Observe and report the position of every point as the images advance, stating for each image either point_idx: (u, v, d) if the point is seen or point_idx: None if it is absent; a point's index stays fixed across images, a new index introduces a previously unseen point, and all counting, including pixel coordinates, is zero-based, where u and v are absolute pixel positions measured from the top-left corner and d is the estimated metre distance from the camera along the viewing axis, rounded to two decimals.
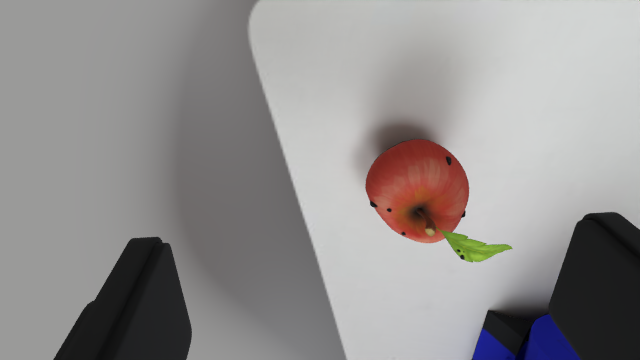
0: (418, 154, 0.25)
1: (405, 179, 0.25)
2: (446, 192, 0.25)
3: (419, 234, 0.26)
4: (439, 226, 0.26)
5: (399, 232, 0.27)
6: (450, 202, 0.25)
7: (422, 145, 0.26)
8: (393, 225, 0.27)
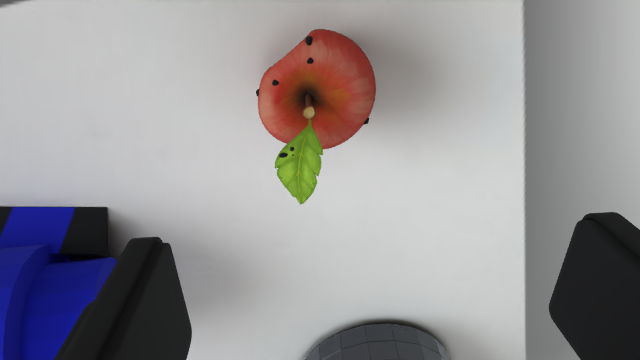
0: (374, 87, 0.23)
1: (355, 76, 0.21)
2: (343, 124, 0.22)
3: (278, 102, 0.22)
4: (294, 123, 0.22)
5: (274, 77, 0.21)
6: (332, 129, 0.22)
7: (375, 91, 0.24)
8: (285, 68, 0.21)
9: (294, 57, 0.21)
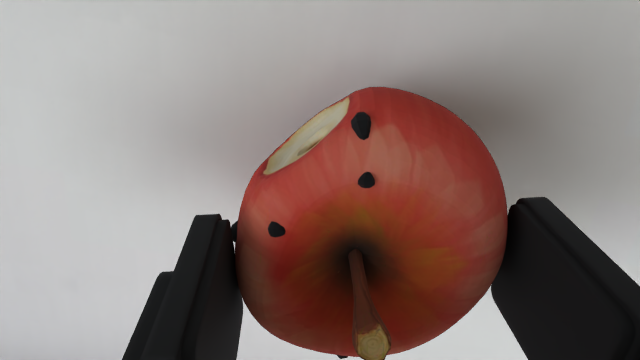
0: None
1: (480, 215, 0.08)
2: (441, 322, 0.09)
3: (284, 277, 0.09)
4: (322, 322, 0.09)
5: (273, 215, 0.09)
6: (414, 338, 0.09)
7: None
8: (303, 196, 0.08)
9: (325, 169, 0.08)
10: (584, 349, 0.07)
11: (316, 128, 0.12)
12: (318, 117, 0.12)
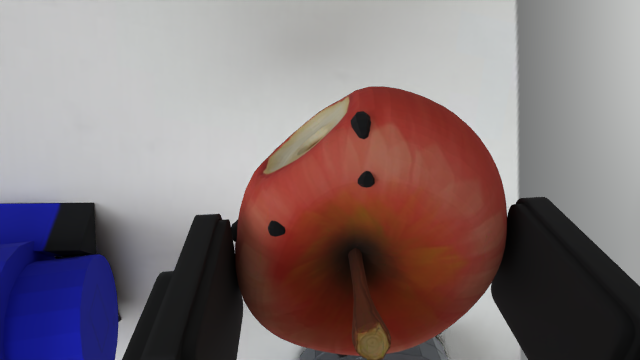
0: None
1: (479, 214, 0.08)
2: (441, 321, 0.09)
3: (284, 276, 0.09)
4: (322, 321, 0.09)
5: (273, 214, 0.09)
6: (414, 337, 0.09)
7: None
8: (303, 195, 0.08)
9: (325, 168, 0.08)
10: (584, 349, 0.07)
11: (316, 128, 0.12)
12: (318, 116, 0.12)
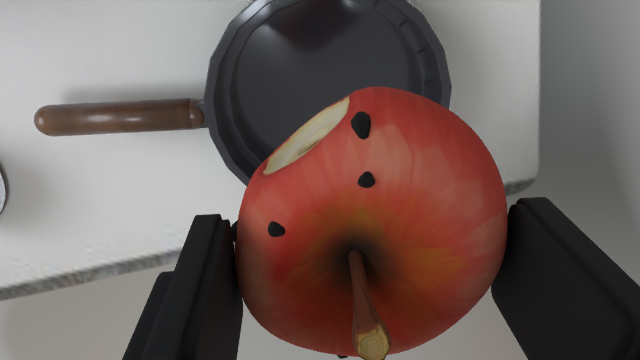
0: None
1: (480, 215, 0.08)
2: (441, 322, 0.09)
3: (284, 277, 0.09)
4: (322, 322, 0.09)
5: (272, 215, 0.09)
6: (414, 338, 0.09)
7: None
8: (303, 196, 0.08)
9: (324, 168, 0.08)
10: (584, 349, 0.07)
11: (316, 128, 0.12)
12: (317, 117, 0.12)
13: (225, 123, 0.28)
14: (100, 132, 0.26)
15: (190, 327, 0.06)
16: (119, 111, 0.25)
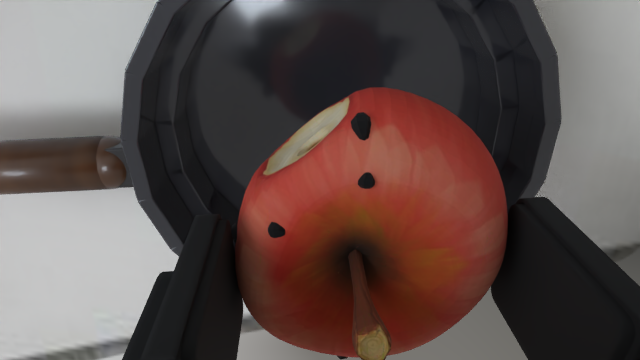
0: None
1: (480, 215, 0.08)
2: (441, 323, 0.09)
3: (284, 278, 0.09)
4: (322, 322, 0.09)
5: (272, 216, 0.09)
6: (414, 338, 0.09)
7: None
8: (303, 197, 0.08)
9: (325, 169, 0.08)
10: (584, 349, 0.07)
11: (316, 128, 0.12)
12: (318, 117, 0.12)
13: (170, 174, 0.17)
14: None
15: (190, 327, 0.06)
16: None
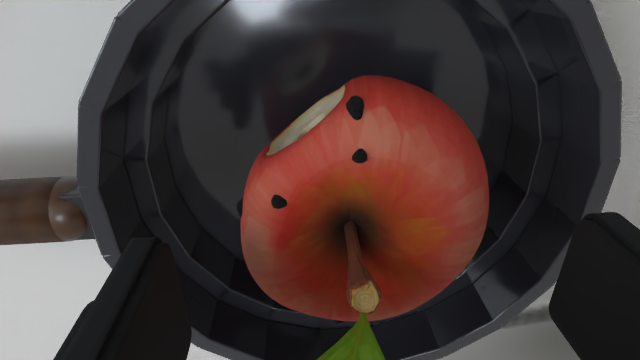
0: (488, 199, 0.11)
1: (462, 188, 0.09)
2: (428, 287, 0.10)
3: (286, 245, 0.10)
4: (320, 287, 0.10)
5: (275, 189, 0.09)
6: (404, 301, 0.10)
7: None
8: (302, 171, 0.09)
9: (322, 146, 0.09)
10: None
11: (315, 115, 0.13)
12: (316, 105, 0.13)
13: (145, 217, 0.14)
14: None
15: None
16: None
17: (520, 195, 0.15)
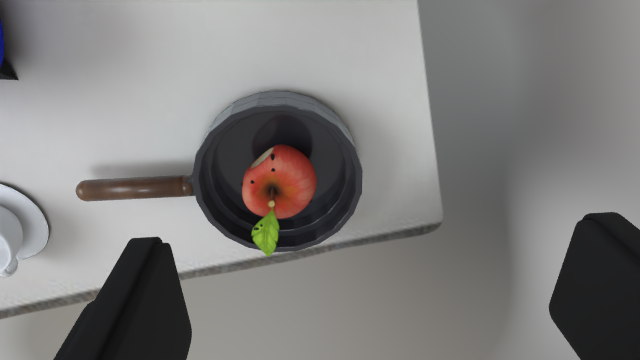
0: (314, 181, 0.36)
1: (300, 178, 0.35)
2: (294, 206, 0.35)
3: (254, 193, 0.35)
4: (264, 206, 0.36)
5: (251, 178, 0.35)
6: (287, 209, 0.35)
7: (316, 181, 0.37)
8: (258, 173, 0.35)
9: (263, 167, 0.35)
10: None
11: (266, 155, 0.38)
12: (267, 151, 0.38)
13: (208, 189, 0.40)
14: (121, 199, 0.38)
15: None
16: (134, 186, 0.37)
17: (344, 182, 0.40)
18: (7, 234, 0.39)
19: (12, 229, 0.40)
